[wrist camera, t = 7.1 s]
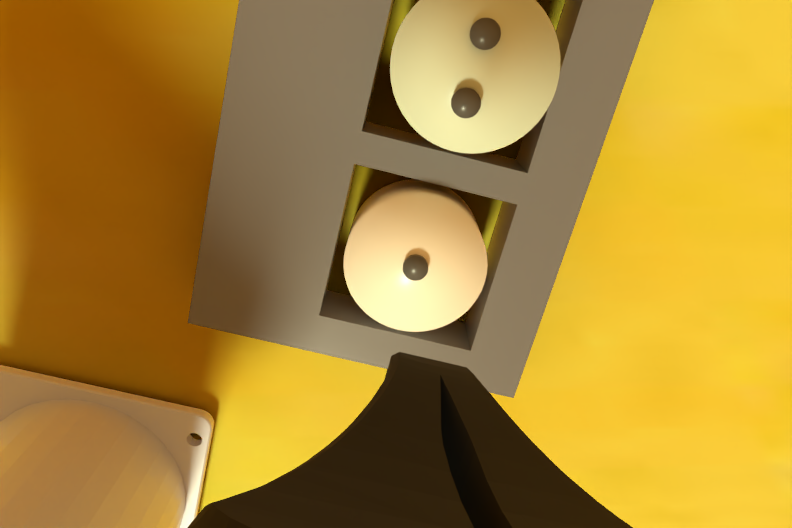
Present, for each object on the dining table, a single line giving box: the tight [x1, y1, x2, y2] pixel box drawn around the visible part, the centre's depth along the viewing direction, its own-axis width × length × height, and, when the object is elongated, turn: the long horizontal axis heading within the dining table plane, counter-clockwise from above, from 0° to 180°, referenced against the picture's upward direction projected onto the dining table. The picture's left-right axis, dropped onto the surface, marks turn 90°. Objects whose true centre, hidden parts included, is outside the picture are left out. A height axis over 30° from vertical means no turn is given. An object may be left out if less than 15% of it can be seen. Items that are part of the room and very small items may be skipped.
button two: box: [390, 0, 560, 154], centre depth 17 cm, size 4×4×2 cm
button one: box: [344, 179, 488, 332], centre depth 19 cm, size 4×4×2 cm
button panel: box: [188, 0, 654, 398], centre depth 18 cm, size 18×10×2 cm, turn 166°
